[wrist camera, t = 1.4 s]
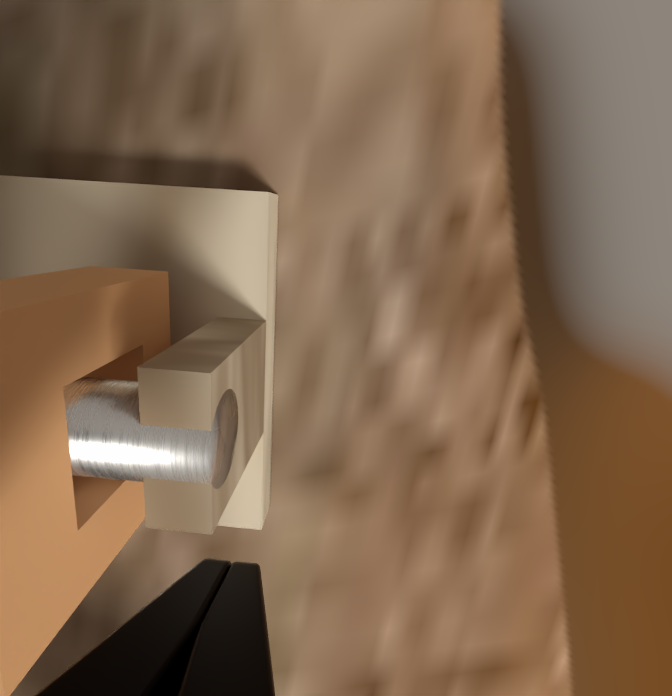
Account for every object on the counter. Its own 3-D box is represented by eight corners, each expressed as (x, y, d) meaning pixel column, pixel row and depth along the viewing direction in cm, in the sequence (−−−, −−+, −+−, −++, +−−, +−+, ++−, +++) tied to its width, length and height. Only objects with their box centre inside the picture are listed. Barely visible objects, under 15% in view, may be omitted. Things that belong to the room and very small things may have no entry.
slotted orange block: (168, 271, 14) (-58, 325, 6) (175, 478, 16) (5, 701, 8) (90, 265, 14) (-218, 313, 7) (106, 471, 16) (-120, 686, 8)
